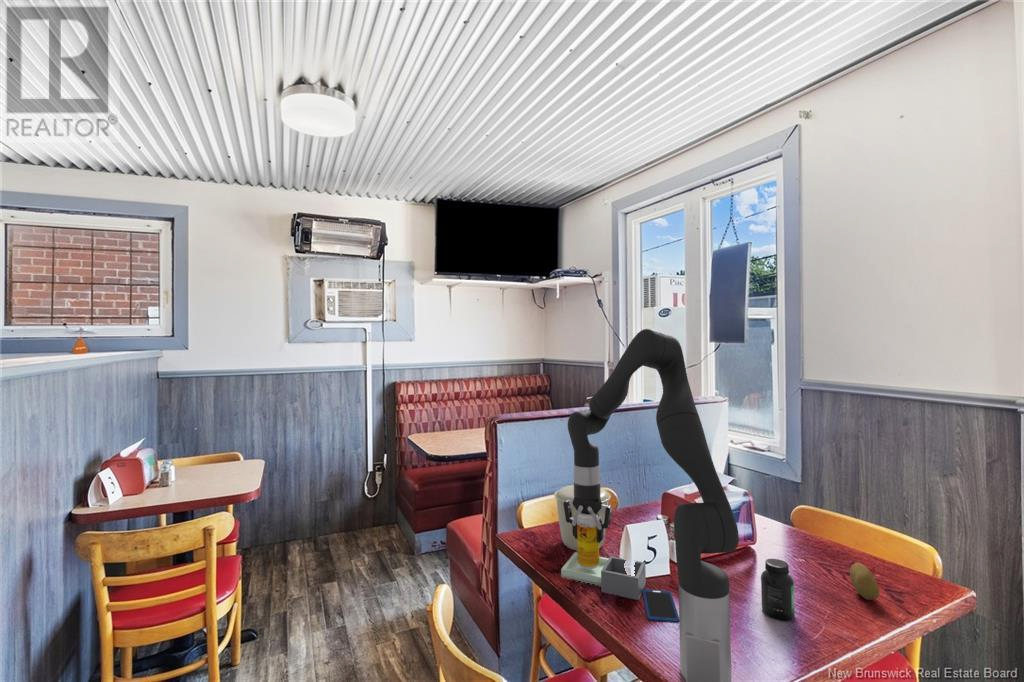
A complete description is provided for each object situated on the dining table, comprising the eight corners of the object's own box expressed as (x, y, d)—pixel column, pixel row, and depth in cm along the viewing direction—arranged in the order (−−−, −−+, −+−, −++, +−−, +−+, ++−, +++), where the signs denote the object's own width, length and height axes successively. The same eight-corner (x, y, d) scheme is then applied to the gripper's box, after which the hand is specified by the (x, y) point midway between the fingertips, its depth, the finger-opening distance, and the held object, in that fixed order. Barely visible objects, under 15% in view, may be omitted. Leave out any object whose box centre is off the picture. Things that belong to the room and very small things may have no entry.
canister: (546, 538, 158) (545, 475, 158) (595, 531, 164) (594, 470, 164) (569, 561, 141) (567, 491, 141) (622, 553, 146) (621, 485, 147)
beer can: (574, 567, 133) (573, 513, 133) (582, 558, 138) (581, 507, 138) (595, 571, 130) (594, 516, 130) (602, 562, 135) (601, 510, 135)
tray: (603, 586, 126) (603, 577, 126) (561, 577, 131) (561, 569, 131) (614, 567, 137) (614, 559, 137) (575, 560, 142) (575, 552, 142)
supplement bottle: (801, 619, 110) (800, 567, 110) (776, 623, 108) (775, 571, 108) (779, 604, 116) (778, 555, 116) (755, 607, 115) (754, 558, 115)
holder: (638, 600, 119) (638, 578, 119) (601, 592, 123) (601, 570, 123) (645, 582, 128) (645, 562, 128) (610, 575, 132) (610, 556, 132)
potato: (875, 608, 114) (875, 575, 114) (840, 594, 120) (840, 563, 120) (889, 600, 117) (888, 567, 117) (854, 587, 124) (853, 556, 124)
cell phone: (670, 593, 123) (670, 590, 123) (680, 624, 109) (680, 621, 109) (641, 591, 124) (641, 588, 124) (647, 622, 110) (647, 618, 110)
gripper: (558, 481, 134) (559, 540, 134) (608, 486, 128) (609, 549, 127) (567, 474, 141) (568, 531, 141) (615, 479, 134) (616, 539, 134)
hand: (588, 539), depth 134 cm, fingers closed on beer can, 6 cm apart
